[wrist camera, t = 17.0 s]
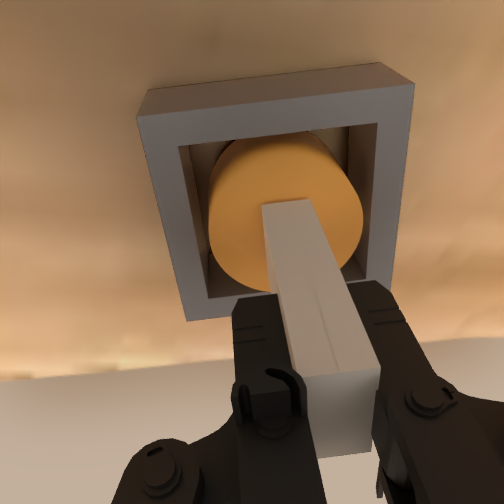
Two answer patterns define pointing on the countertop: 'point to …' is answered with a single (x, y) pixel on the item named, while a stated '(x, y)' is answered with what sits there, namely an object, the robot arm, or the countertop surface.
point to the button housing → (272, 123)
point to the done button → (277, 200)
